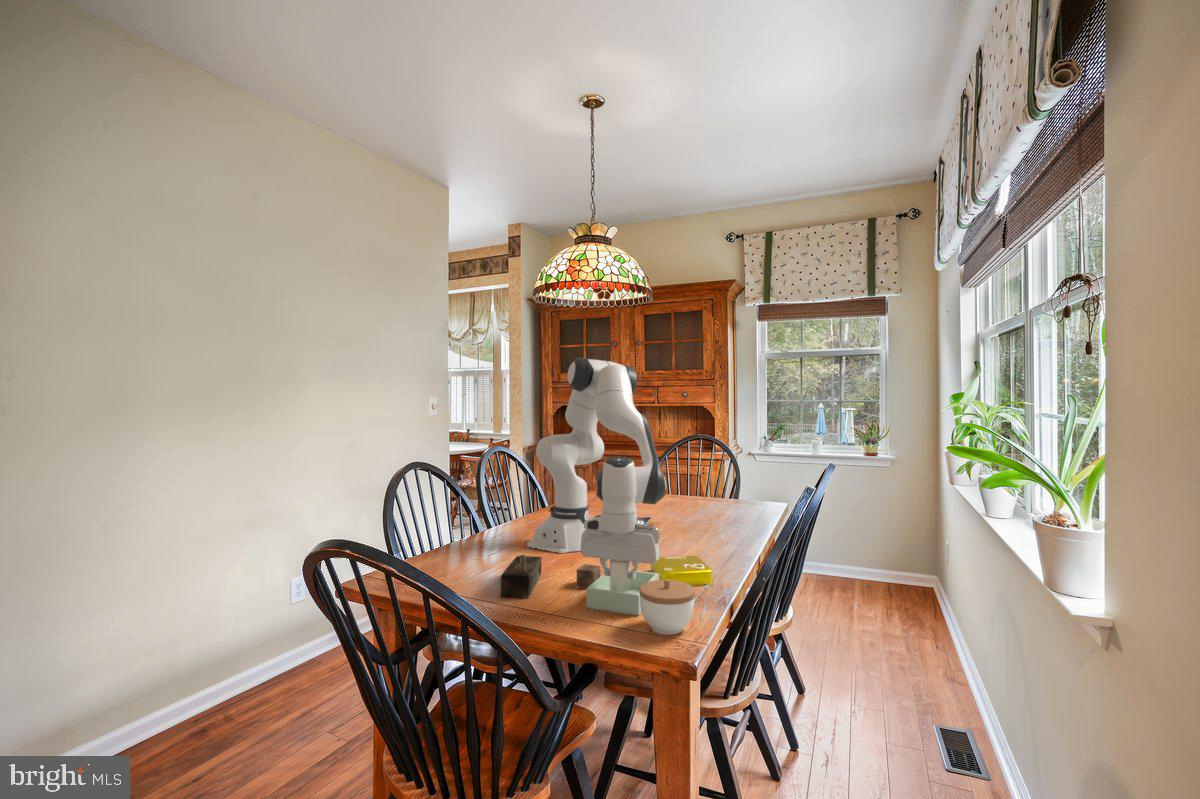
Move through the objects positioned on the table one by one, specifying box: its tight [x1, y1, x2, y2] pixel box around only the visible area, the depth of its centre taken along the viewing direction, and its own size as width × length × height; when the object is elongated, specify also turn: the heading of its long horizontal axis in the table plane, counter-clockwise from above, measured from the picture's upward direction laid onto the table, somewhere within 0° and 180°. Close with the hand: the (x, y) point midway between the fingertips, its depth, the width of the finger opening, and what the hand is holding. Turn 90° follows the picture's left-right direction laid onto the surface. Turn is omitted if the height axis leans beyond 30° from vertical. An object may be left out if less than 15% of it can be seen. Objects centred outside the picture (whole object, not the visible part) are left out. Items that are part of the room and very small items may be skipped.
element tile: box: [650, 555, 713, 586], centre depth 169 cm, size 15×15×5 cm
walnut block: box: [576, 563, 601, 589], centre depth 162 cm, size 5×5×5 cm
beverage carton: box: [500, 554, 542, 599], centre depth 161 cm, size 8×19×7 cm, turn 175°
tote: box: [586, 570, 659, 617], centre depth 151 cm, size 14×18×5 cm
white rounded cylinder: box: [609, 559, 631, 592], centre depth 147 cm, size 5×5×7 cm
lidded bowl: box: [639, 579, 696, 636], centre depth 133 cm, size 13×13×11 cm
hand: (619, 577), depth 147 cm, fingers closed on white rounded cylinder, 5 cm apart
